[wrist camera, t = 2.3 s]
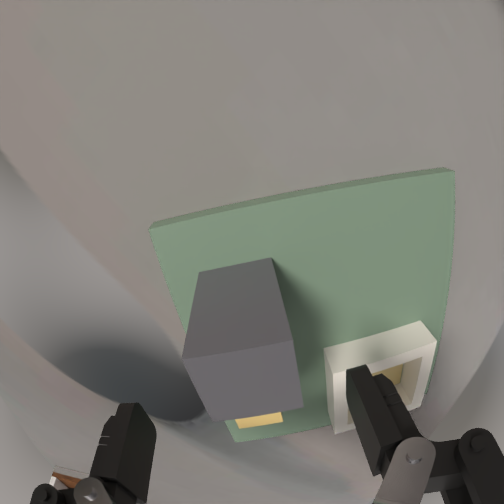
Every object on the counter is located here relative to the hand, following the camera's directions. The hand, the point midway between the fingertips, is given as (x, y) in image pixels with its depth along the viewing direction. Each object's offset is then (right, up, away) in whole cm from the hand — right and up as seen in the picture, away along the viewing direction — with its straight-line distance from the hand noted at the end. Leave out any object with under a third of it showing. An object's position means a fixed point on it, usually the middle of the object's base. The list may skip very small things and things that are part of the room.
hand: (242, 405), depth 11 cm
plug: (0, +3, +7) cm, 8 cm away
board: (+6, 0, +10) cm, 12 cm away
